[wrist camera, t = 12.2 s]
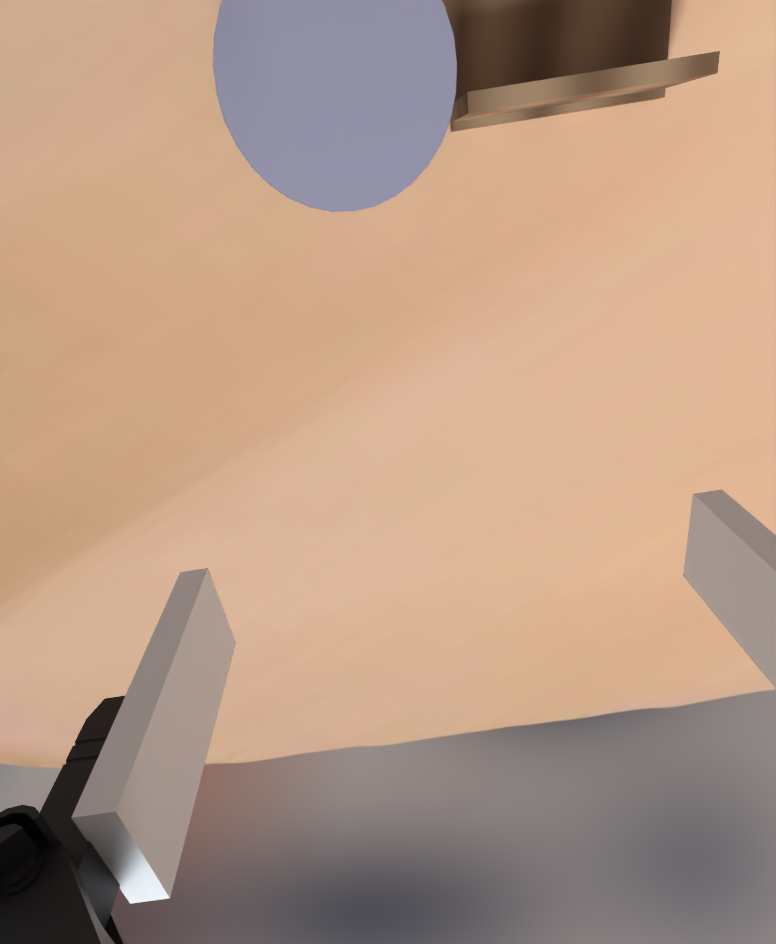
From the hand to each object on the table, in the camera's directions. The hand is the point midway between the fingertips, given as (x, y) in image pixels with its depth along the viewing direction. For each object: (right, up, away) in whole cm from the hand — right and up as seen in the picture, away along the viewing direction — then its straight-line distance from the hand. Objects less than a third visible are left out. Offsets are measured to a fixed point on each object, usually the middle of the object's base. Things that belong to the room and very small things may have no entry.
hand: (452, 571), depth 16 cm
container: (-5, +26, +22) cm, 35 cm away
